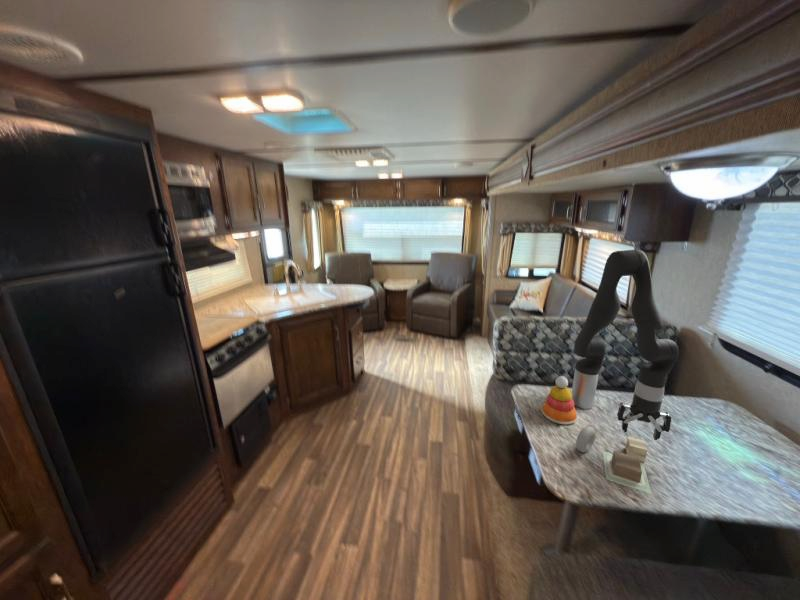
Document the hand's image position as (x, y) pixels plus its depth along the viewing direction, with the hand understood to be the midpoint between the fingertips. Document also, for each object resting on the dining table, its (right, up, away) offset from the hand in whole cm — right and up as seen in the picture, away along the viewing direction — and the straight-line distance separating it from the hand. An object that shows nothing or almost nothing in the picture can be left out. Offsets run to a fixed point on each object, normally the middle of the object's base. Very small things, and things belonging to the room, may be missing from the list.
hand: (639, 434), depth 107 cm
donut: (-16, -9, +7) cm, 19 cm away
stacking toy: (-15, -3, +26) cm, 30 cm away
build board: (-8, -11, -4) cm, 14 cm away
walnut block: (-8, -11, -4) cm, 14 cm away
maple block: (0, -9, +3) cm, 10 cm away
